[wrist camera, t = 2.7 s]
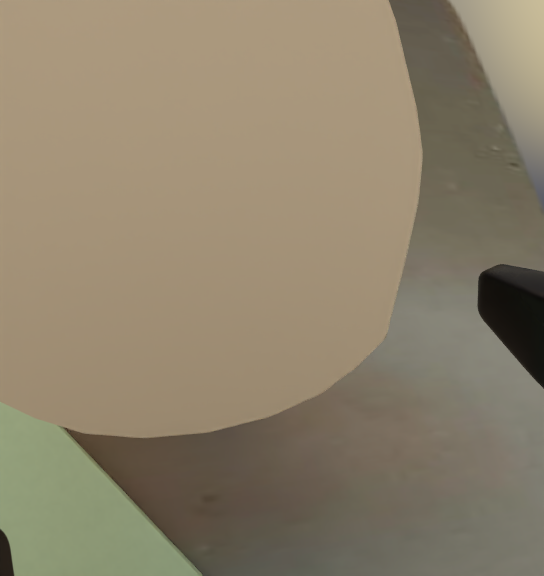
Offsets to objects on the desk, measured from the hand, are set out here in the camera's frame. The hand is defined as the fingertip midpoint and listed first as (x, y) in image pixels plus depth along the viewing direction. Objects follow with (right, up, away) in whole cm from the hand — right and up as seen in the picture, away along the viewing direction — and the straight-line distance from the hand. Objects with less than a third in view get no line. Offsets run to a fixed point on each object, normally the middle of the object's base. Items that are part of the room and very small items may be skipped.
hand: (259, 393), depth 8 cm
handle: (-3, 0, +11) cm, 11 cm away
